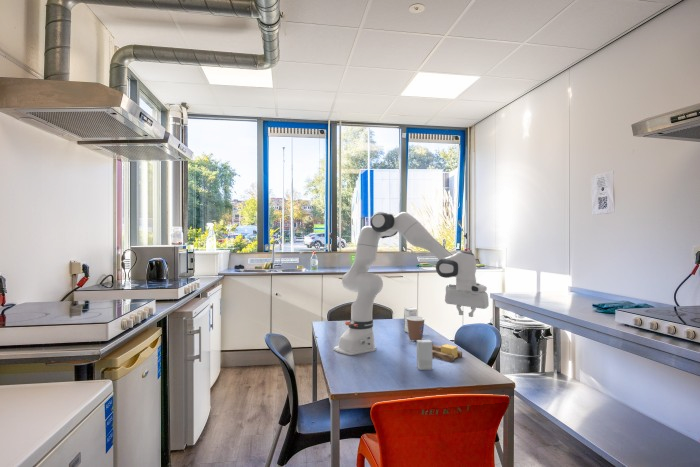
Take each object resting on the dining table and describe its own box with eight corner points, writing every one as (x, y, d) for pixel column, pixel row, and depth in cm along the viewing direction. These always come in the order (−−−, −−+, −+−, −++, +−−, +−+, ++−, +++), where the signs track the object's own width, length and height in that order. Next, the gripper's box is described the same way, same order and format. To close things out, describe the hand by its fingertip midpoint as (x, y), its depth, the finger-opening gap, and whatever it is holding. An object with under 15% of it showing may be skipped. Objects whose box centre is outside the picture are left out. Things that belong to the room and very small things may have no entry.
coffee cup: (424, 342, 200) (425, 320, 200) (405, 341, 202) (406, 319, 202) (424, 337, 210) (425, 316, 210) (406, 336, 212) (406, 315, 212)
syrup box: (411, 330, 227) (412, 306, 227) (416, 332, 221) (417, 308, 222) (403, 331, 225) (403, 307, 225) (408, 333, 219) (408, 309, 219)
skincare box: (429, 366, 163) (429, 339, 163) (432, 370, 158) (433, 342, 158) (416, 366, 162) (416, 339, 162) (419, 370, 158) (419, 342, 158)
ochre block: (457, 357, 175) (457, 346, 175) (452, 359, 172) (452, 348, 172) (446, 354, 179) (446, 344, 179) (440, 356, 176) (440, 346, 176)
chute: (462, 356, 176) (462, 350, 176) (451, 361, 169) (451, 355, 169) (431, 349, 188) (431, 343, 188) (419, 353, 181) (419, 347, 181)
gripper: (442, 284, 175) (442, 313, 175) (484, 288, 161) (484, 320, 160) (449, 283, 180) (449, 311, 179) (490, 287, 165) (490, 318, 165)
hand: (465, 315), depth 170 cm, fingers open, 3 cm apart
